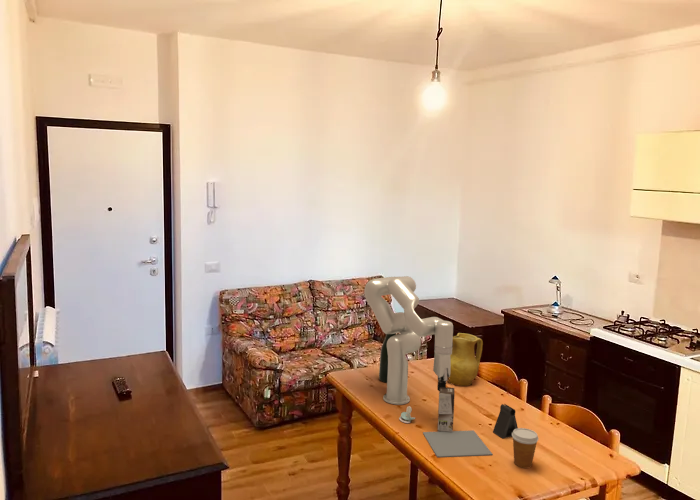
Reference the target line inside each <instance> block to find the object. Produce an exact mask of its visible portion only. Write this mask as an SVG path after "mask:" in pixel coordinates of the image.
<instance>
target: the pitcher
mask: <svg viewBox="0 0 700 500" xmlns="http://www.w3.org/2000/svg"><path fill="white" fill-rule="evenodd" d="M475 345H476V350H475ZM483 345H484V342H483V339H482V338H480V337H478V336H476V335H473V334H470V333H464V332H463V333H462V332H458V333H457V334H456V335H453V342H452V354H451V355H450V359H451V370H450V377H448V379H447V382H448V383H449V384H450V385H456V386H458V387H463V386H464V387H467V386H468V387H469V386H472V385H473V380H475V379H476V378H477V376H478V374H479V366H480V361H481V357H482V353H483ZM475 352H476V353H475Z"/></svg>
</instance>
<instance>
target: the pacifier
mask: <svg viewBox="0 0 700 500" xmlns="http://www.w3.org/2000/svg"><path fill="white" fill-rule="evenodd" d="M412 410H413V409H412V407H411V406H410V405H409V406H407V407H406V410H405V411H402V412H401V414H400V416H399V418H398V419H399V421H400V422H402V423H405V424H410V423H411V422H412V421H413V420H416V417H413V416H411V413H412Z"/></svg>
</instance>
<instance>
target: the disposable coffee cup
mask: <svg viewBox="0 0 700 500" xmlns="http://www.w3.org/2000/svg"><path fill="white" fill-rule="evenodd" d="M511 438H512V444H513V445H512V446H513V463H514V464H515V465H516V466H517V467H519V468H526V469H529V468H531V467H532V465H533V460H534V457H535V452H536V447H537V443H538V441H539V436H538V433H537V432H536V431H535V430H532V429H529V428H525V427H524V428H523V427H518V428H517V429H515V430H514V431H513V433H512V437H511Z"/></svg>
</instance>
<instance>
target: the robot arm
mask: <svg viewBox="0 0 700 500" xmlns="http://www.w3.org/2000/svg"><path fill="white" fill-rule="evenodd" d="M416 289H417V284H416V281H415V279H413V277H411V276H407V275H406V276H388V277H380V278H379V277H378V278H374V279H373V278H372V279H370V280H369V281H367V282H366V284H365V286H364V298H365V300H366V302H367V304H368V306H369V307H370V308H371V311H372V312H373V314H374V316H375V318H376V321H377V322H378V324H379V327H380V329H381V331H382V333H384V334H385V335H386V334H394V333H396V335H394V336H392V337H390V338H389V339H388V341H387V351H388V377H387V383H386V393H385V394H383V396H382V397H383V398H382V400H383V401H384V402H386V403H388V404H392V405H397V406H398V405H399V406H400V405H406V404H408V403H410V400H411V398H410V396H409V395H408V377H409V362H408V359H407V357H406V355H407V354H410V353H413V352H416V351H418V350H420V348H421V346H422V341H421V337H422V338H423V337H427V336H431V335H432V336H433V335H434V351H433V352H434V357H433V366H432V367H433V368H432V369H433V370H432V371H433V372H434V374H435V375H436V376H437V391H438V392H439V390H440V387H446V386H447V382H448V378H449V377H450V370H451V359H450V355H451V354H452V348H453V337H454V325H453V322H452V321H449V320H444V319H442V318H440V317H438V316H431V317H426V318H420V316H419V315H418V314H417V313H416V311H415V308H417V306H418V304H419V302H420V298H419V296H418V295H417V293H415V291H416ZM387 295H388V296H389V295H391V296H392V297H393V298H394V300H395V301H396V302H397V303H398V304H399V305H400V306H401V308H402V309H403V311H402V312H394V311H393V309H392V307H391V305H390V304H389V302H388V301H387V300H386V299H385V298H384V297H383V296H387Z"/></svg>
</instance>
